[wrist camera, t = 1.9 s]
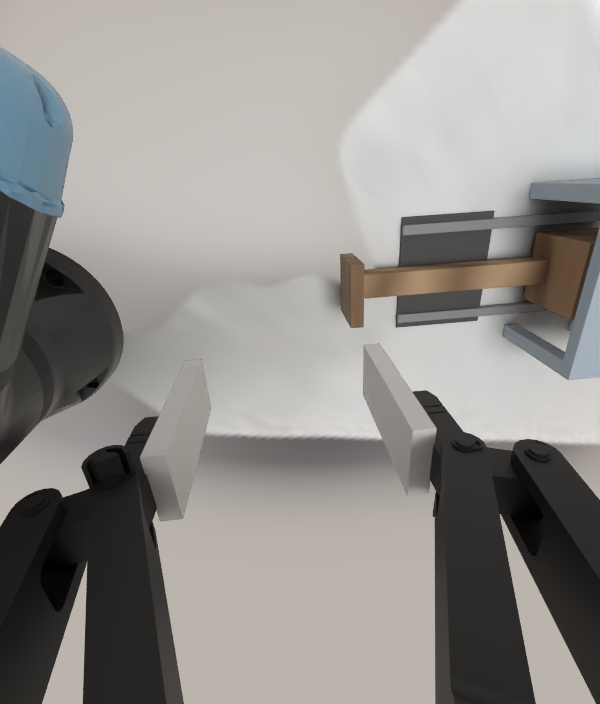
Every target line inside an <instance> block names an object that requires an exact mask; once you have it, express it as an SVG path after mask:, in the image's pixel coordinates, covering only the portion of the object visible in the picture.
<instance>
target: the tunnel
mask: <svg viewBox="0 0 600 704" xmlns="http://www.w3.org/2000/svg"><path fill="white" fill-rule="evenodd" d="M529 199H543V200H557V201H571V202H585V203H599V204H600V178H597V179H583V180H569V181H554V182H540V183H532V185H531V190H530V195H529ZM591 221H600V210H598V211H584V212H571V213H557V214H543V215H530V216H516V217H502V218H493V219H479V220H466V221H452V222H438V223H425V224H411V225H401V226H402V235H416V234H430V233H443V232H457V231H470V230H484V229H497V228H510V227H524V226H537V225H551V224H564V223H578V222H591ZM535 311H547V309H545V308H543V307H541V306H539V305H537V304H534V303H532V302H523V303H511V304H499V305H487V306H480V307H472V308H460V309H448V310H436V311H424V312H412V313H400V314H397V316H396V317H397V322H398V323H405V322H417V321H429V320H440V319H452V318H464V317H476V316H488V315H500V314H511V313H523V312H535ZM568 331H570V332H571V333H570V337H569V340H568V344H567V348H566V351H565V352H564V351H562V350H560V349H559V348H557V347H555V346H553V345H552V344H550V343H548V342H547V341H545V340H543V339H541V338H540V337H538V336H536V335H535V334H533V333H531V332H530V331H528V330H526V329H524V328H523V327H521V326H519V325H518V324H510V325H505V326H504V332H503V337H505V338H506V339H508V340H509V341H511V342H512V343H514V344H515V345H517V346H518V347H520V348H521V349H523V350H524V351H526V352H527V353H529V354H530V355H532V356H533V357H535V358H536V359H538V360H539V361H541V362H542V363H544V364H545V365H546V366H548V367H549V368H551V369H552V370H554V371H555V372H557V373H558V374H560V375H561V376H563V377H564V378H566V379H567V380H575V379H586V378H597V377H600V228H599V231H598V235H597V239H596V242H595V246H594V250H593V253H592V257H591V260H590V264H589V268H588V271H587V275H586V279H585V282H584V286H583V290H582V293H581V297H580V300H579V304H578V308H577V311H576V315H575V319H574V320H571V321H570V325H569V328H568Z"/></svg>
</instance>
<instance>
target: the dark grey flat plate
mask: <svg viewBox="0 0 600 704" xmlns="http://www.w3.org/2000/svg"><path fill="white" fill-rule="evenodd" d="M493 217H494V211H485V212H471V213H457V214H443V215H429V216H416V217H402V224H401V225H411V224H425V223H438V222H452V221H466V220H479V219H493ZM491 230H492V229H484V230H470V231H457V232H443V233H430V234H416V235H402V226H401V243H400V261H399V267H409V266H421V265H434V264H447V263H460V262H473V261H485V260H487V256H488V249H489V243H490V237H491ZM481 295H482V289H475V290H462V291H450V292H438V293H426V294H413V295H401V296H398V297H397V314H400V313H412V312H424V311H436V310H448V309H460V308H472V307H480V301H481ZM477 320H478V316H476V317H464V318H452V319H440V320H429V321H417V322H405V323H398V322H397V317H396V327H407V326H419V325H431V324H443V323H455V322H466V321H477Z"/></svg>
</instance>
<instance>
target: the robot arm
mask: <svg viewBox="0 0 600 704" xmlns="http://www.w3.org/2000/svg"><path fill="white" fill-rule="evenodd" d="M72 141H73V127H72V122H71V118H70V114H69V112H68V109H67V107H66V105H65V103H64V101H63V100H62V98H61V97H60V95H59V94H58V92H57V91H56V90H55V88H54V87H53V86H52V85H51V84H50V83H49V82H48V81H47V80H46V79H45V78H44V77H43V76H41V75H40V74H39V73H38V72H36V71H35V70H34V69H32V68H31V67H30V66H28V65H27V64H25V63H24V62H23V61H21V60H20V59H18V58H17V57H15V56H14V55H13V54H11V53H10V52H8V51H7V50H5V49H4V48H2V47H1V46H0V464H1V463H2V462H3V461H4V460H5V459H6V458H7V456H8V455H9V454H10V453H11V452H12V451H13V450H14V449H15V448H16V447H17V446H18V445H19V444H20V443H21V442H22V441H23V439H24V438H25V437H26V436H27V435H28V434H29V433H30V432H31V431H32V430H33V429H34V427H35V426H36V425H37V424H38V423H39V422H40V421H42V420H44V419H46V418H48V417H50V416H53V415H55V414H57V413H59V412H61V411H63V410H66V409H68V408H70V407H72V406H74V405H77V404H78V403H81V402H83V401H84V400H86V399H87V398H89V397H90V396H92V395H93V394H94V393H95V392H97V391H98V390H99V388H100V387H102V385H103V384H104V383H105V382H106V381H107V379H108V378H109V377H110V376H111V374H112V373H113V372H114V370H115V369H116V367H117V365H118V363H119V360H120V357H121V353H122V348H123V331H122V326H121V321H120V318H119V315H118V312H117V310H116V308H115V306H114V304H113V302H112V300H111V298H110V297H109V295H108V294H107V292H106V291H105V289H104V288H103V287H102V286H101V284H100V283H99V282H98V281H97V280H96V279H95V278H94V277H93V276H92V275H91V274H90V273H89V272H88V271H87V270H85V269H84V268H83V267H82V266H80V265H79V264H78V263H76V262H75V261H73V260H72V259H70V258H68V257H67V256H65V255H63V254H61V253H59V252H57V251H55V250H53V249H51V248H49V244H50V241H51V237H52V234H53V231H54V227H55V224H56V220H57V217H62V214H63V211H64V204H63V202H62V200H61V198H62V193H63V188H64V182H65V177H66V171H67V166H68V160H69V155H70V151H71V146H72ZM363 395H364V398H365V400H366V402H367V404H368V407H369V409H370V411H371V414H372V416H373V418H374V420H375V423H376V425H377V427H378V430H379V432H380V434H381V437H382V439H383V441H384V443H385V445H386V448H387V450H388V453H389V455H390V457H391V459H392V462H393V464H394V466H395V469H396V471H397V473H398V475H399V478H400V480H401V482H402V485H403V487H404V489H405V492H406V494H407V495H415V494H424V493H429V488H430V480H431V482H432V484H433V486H434V488H435V490H436V494H435V502H434V509H433V517H435V676H436V677H435V683H436V684H435V689H436V690H435V693H436V694H435V695H436V704H536V703H535V698H534V693H533V687H532V682H531V677H530V672H529V666H528V661H527V656H526V651H525V646H524V640H523V635H522V630H521V625H520V619H519V614H518V609H517V604H516V599H515V593H514V588H513V584H512V577H511V572H510V567H509V562H508V557H507V551H506V546H505V541H504V536H503V531H502V526H501V520H500V515H499V514H501V515H502V517H503V519H504V521H505V523H506V525H507V527H508V529H509V531H510V533H511V535H512V537H513V539H514V541H515V543H516V545H517V547H518V549H519V551H520V553H521V555H522V557H523V559H524V561H525V563H526V565H527V567H528V569H529V571H530V573H531V575H532V577H533V579H534V581H535V583H536V585H537V587H538V589H539V591H540V593H541V595H542V597H543V599H544V601H545V603H546V605H547V607H548V609H549V611H550V613H551V615H552V617H553V619H554V621H555V623H556V625H557V627H558V629H559V631H560V633H561V635H562V636H563V639H564V641H565V643H566V645H567V646H568V648H569V650H570V652H571V655H572V656H573V658H574V661H575V662H576V664H577V666H578V668H579V670H580V672H581V674H582V676H583V678H584V680H585V682H586V684H587V686H588V688H589V690H590V692H591V694H592V696H593V698H594V700H595V702H596V704H600V500H599V499H598V497H597V496H596V495H595V494H594V493H593V491H592V490H591V489H590V488H589V486H588V485H587V484H586V483H585V482H584V481H583V479H582V478H581V477H580V476H579V475H578V473H577V472H576V471H575V470H574V468H573V467H572V466H571V465H570V464H569V462H568V461H567V460H566V459H565V458H564V456H563V455H562V454H561V453H560V452H559V451H558V450H557V449H556V448H554V447H552V446H551V445H549V444H547V443H544V442H541V441H538V440H531V439H525V440H520V441H518V442H516V443H515V445H514V447H513V451H510V450H501V449H494V448H488V447H486V446H485V443H484V442H483V441H482V440H481V439H479V438H478V437H476V436H474V435H472V434H469V433H465V432H463V431H462V429H461V428H460V427H459V425H458V424H457V423H456V421H455V420H454V419H453V418H452V416H451V415H450V414H449V412H447V410H446V408H445V407H444V406H443V405H442V403H441V402H440V401H439V399H438V398H437V397H436V396H434V395H433V394H431V393H430V392H428V391H415V392H412V391H411V389H410V388H409V386H408V385H407V383H406V382H405V380H404V379H403V378H402V376H401V375H400V373H399V372H398V370H397V369H396V367H395V366H394V364H393V363H392V361H391V360H390V358H389V357H388V355H387V354H386V352H385V351H384V349H383V348H382V346H381V345H380V343H378V344H367V345H364V360H363ZM210 411H211V404H210V399H209V394H208V389H207V384H206V379H205V374H204V369H203V364H202V359H196V360H185V362H184V364H183V366H182V368H181V370H180V372H179V374H178V377H177V379H176V381H175V383H174V385H173V387H172V389H171V392H170V394H169V396H168V398H167V400H166V402H165V404H164V407H163V409H162V411H161V413H160V415H159V416H158V417H147V418H144V419H143V420H142V421H140V422H139V423H138V424H137V425H136V426H135V427H134V429H133V431H132V433H131V435H130V437H129V438H128V440H127V442H126V445H125V446H122V445H112V446H107V447H104V448H102V449H99V450H97V451H95V452H94V453H92V454H91V455H89V456H88V457H87V458H86V459H85V460H84V461H83V464H82V467H81V468H82V470H83V472H84V475H85V477H86V480H87V482H88V485H89V487H90V489H87V490H85V491H82V492H79V493H76V494H73V495H70V496H66V497H62V495H61V493H60V492H59V490H57V489H53V488H49V489H42V490H39V491H36V492H33V493H31V494H29V495H27V496H26V497H24V498H23V499H21V500H20V501H19V502H17V503H16V504H15V506H14V507H13V508H12V509H11V510H10V512H9V513H8V515H7V517H6V519H5V520H4V522H3V523H2V525H1V527H0V704H42V701H43V698H44V695H45V692H46V689H47V686H48V683H49V679H50V676H51V673H52V670H53V667H54V664H55V661H56V658H57V654H58V651H59V648H60V645H61V642H62V639H63V636H64V632H65V629H66V626H67V623H68V620H69V617H70V614H71V611H72V608H73V604H74V601H75V598H76V595H77V592H78V589H79V586H80V582H81V579H82V576H83V573H84V570H85V567H86V564H87V563H88V564H87V593H86V594H87V595H86V625H85V656H84V686H83V687H84V688H83V704H184V702H183V696H182V690H181V684H180V678H179V672H178V666H177V659H176V654H175V647H174V641H173V635H172V629H171V623H170V617H169V611H168V605H167V599H166V594H165V587H164V580H163V576H162V575H163V574H162V569H161V562H160V556H159V550H158V544H157V538H156V532H155V528H154V525H153V522H152V520H153V518H154V515H155V512H156V510H157V513H158V516H159V520H160V521H168V520H178V519H183V517H184V513H185V509H186V505H187V502H188V498H189V493H190V490H191V486H192V482H193V478H194V474H195V470H196V466H197V462H198V458H199V454H200V451H201V446H202V443H203V439H204V435H205V431H206V427H207V423H208V419H209V415H210ZM87 561H88V562H87Z"/></svg>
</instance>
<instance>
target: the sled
mask: <svg viewBox="0 0 600 704" xmlns="http://www.w3.org/2000/svg"><path fill="white" fill-rule="evenodd" d="M598 231H599V228H589V229H576V230H562V231H549V232H537V235H536V239H535V244H534V249H533V254H532V257H524V258H511V259H498V260H485V261H473V262H460V263H447V264H434V265H421V266H409V267H396V268H383V269H370V270H364V264H363V263H362V262H361V261H360V260H359V259H358V258H357V257H356V256H354V255H353V254H352V253H351V254H340V255H341V257H340V259H341V311H342V313H343V314H344V316H345V318H346V320H347V322H348V323H349V325H350V327H351V328H358V327H363V321H364V298H376V297H389V296H401V295H413V294H426V293H438V292H450V291H462V290H475V289H487V288H499V287H512V286H524V285H526V288H525V293H524V299H526V300H528V301H530V302H532V303H534V304H537V305H539V306H541V307H543V308H545V309H547V310H549V311H551V312H554V313H556V314H558V315H560V316H562V317H564V318H566V319H569V320H574V319H575V315H576V311H577V308H578V304H579V300H580V297H581V293H582V290H583V286H584V282H585V279H586V275H587V271H588V268H589V264H590V260H591V257H592V253H593V250H594V246H595V242H596V239H597V235H598Z"/></svg>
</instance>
